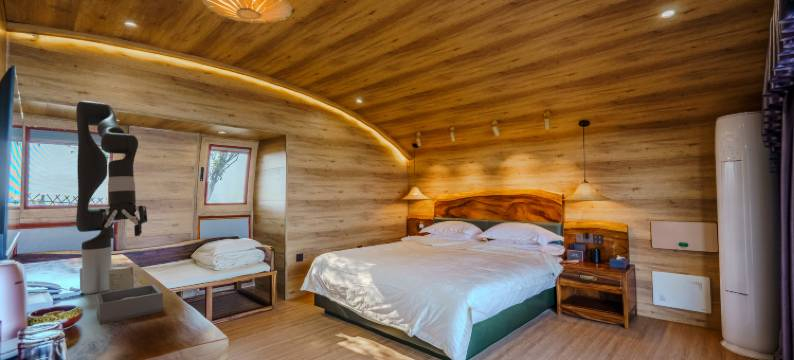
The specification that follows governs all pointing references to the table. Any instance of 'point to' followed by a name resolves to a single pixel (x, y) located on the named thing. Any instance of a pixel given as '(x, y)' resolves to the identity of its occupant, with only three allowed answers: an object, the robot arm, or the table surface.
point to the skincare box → (120, 278)
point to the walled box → (129, 303)
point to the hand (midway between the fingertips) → (124, 237)
